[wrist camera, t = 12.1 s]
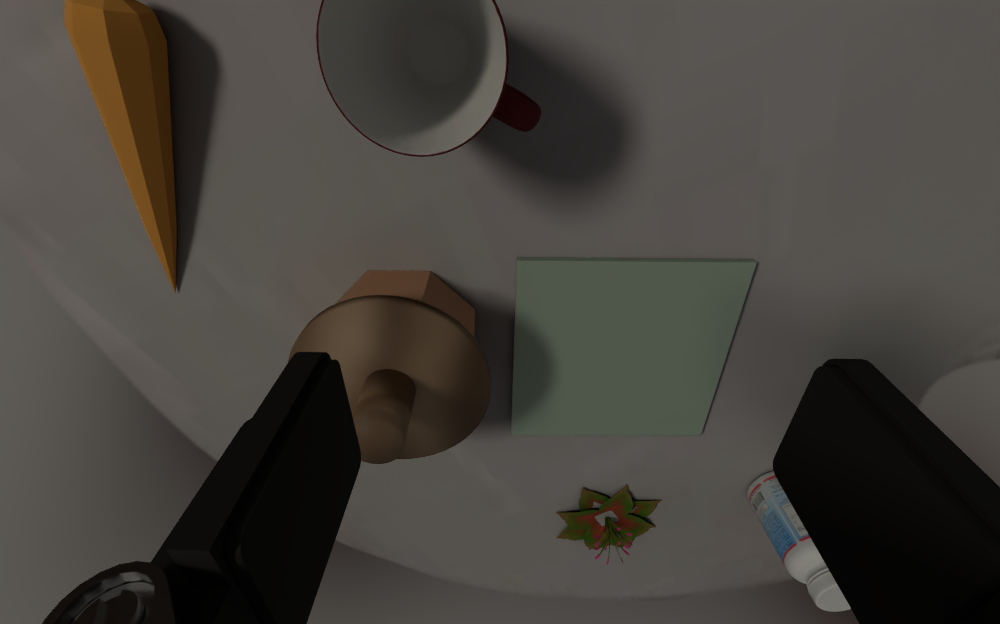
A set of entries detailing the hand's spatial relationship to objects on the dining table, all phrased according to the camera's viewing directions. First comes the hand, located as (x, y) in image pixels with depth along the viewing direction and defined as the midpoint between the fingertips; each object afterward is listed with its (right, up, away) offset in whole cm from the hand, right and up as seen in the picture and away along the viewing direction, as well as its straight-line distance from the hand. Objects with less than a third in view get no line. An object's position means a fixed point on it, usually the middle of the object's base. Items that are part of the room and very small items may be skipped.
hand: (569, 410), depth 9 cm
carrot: (-25, +12, +22) cm, 35 cm away
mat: (+9, -2, +30) cm, 31 cm away
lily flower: (+10, -21, +42) cm, 48 cm away
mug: (-4, +17, +19) cm, 26 cm away
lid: (-9, -3, +24) cm, 26 cm away
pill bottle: (+28, -16, +39) cm, 51 cm away
